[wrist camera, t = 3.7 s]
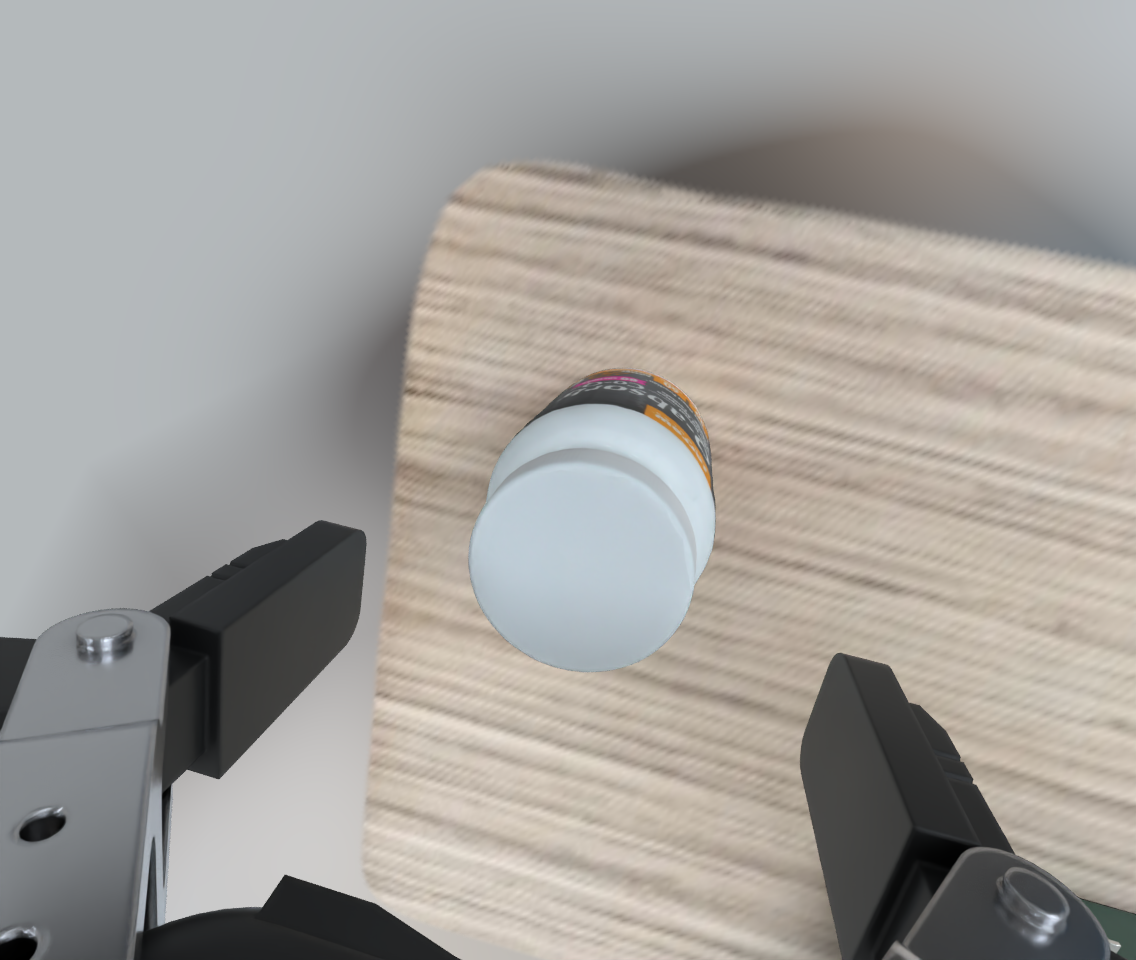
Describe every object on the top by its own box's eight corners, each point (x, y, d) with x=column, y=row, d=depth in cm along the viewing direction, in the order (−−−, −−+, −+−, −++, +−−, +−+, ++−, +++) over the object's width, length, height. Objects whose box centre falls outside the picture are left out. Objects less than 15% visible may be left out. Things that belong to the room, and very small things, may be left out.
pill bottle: (730, 388, 21) (765, 479, 12) (682, 545, 23) (679, 729, 14) (561, 346, 22) (469, 400, 12) (528, 503, 24) (425, 652, 14)
